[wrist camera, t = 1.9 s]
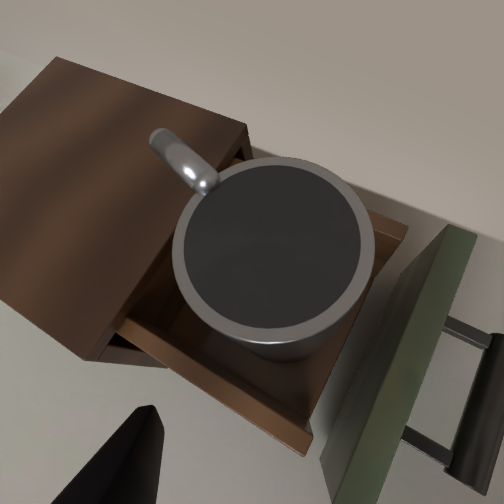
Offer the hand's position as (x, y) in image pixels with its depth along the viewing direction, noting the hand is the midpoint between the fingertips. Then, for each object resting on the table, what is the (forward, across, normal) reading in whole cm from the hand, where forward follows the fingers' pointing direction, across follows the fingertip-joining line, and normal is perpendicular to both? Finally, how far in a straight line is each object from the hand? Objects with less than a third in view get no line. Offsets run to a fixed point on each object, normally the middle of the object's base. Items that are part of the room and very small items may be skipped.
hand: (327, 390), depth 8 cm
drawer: (+10, -1, +6) cm, 11 cm away
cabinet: (+16, +10, 0) cm, 19 cm away
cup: (+11, +2, +3) cm, 11 cm away
